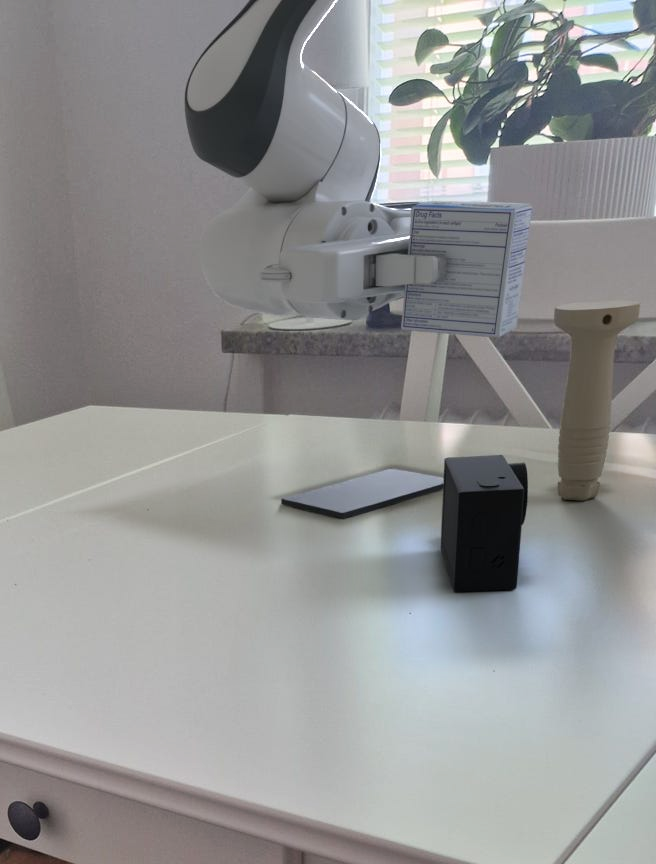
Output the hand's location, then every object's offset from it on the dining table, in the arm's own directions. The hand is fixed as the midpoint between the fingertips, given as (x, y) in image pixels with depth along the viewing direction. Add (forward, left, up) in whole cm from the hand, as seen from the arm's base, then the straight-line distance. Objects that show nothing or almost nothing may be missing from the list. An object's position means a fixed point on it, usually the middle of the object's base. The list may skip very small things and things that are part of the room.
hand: (472, 264), depth 87 cm
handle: (-11, +3, -19) cm, 22 cm away
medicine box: (0, -1, -5) cm, 5 cm away
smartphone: (-1, -12, -19) cm, 22 cm away
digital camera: (+9, +10, -19) cm, 23 cm away
